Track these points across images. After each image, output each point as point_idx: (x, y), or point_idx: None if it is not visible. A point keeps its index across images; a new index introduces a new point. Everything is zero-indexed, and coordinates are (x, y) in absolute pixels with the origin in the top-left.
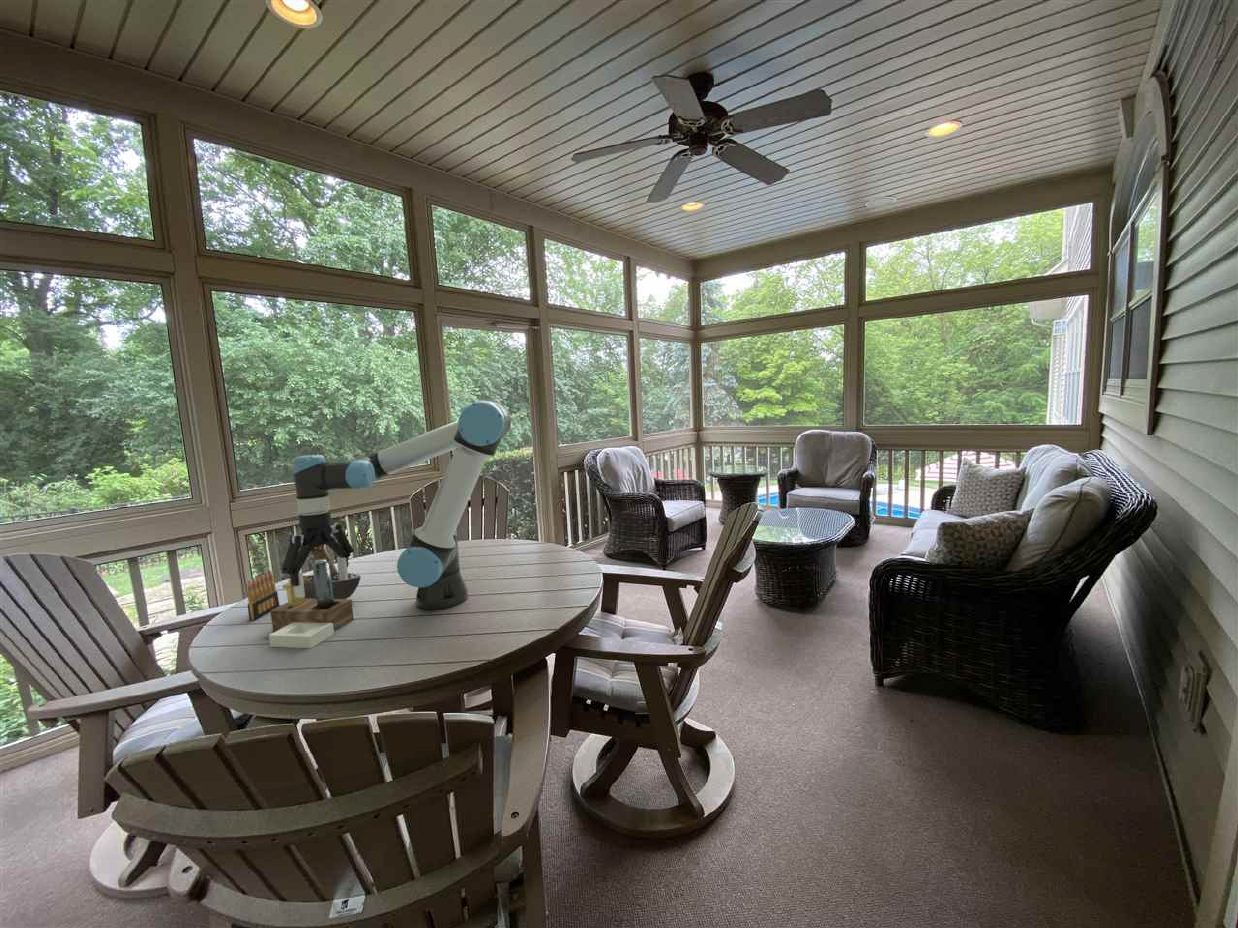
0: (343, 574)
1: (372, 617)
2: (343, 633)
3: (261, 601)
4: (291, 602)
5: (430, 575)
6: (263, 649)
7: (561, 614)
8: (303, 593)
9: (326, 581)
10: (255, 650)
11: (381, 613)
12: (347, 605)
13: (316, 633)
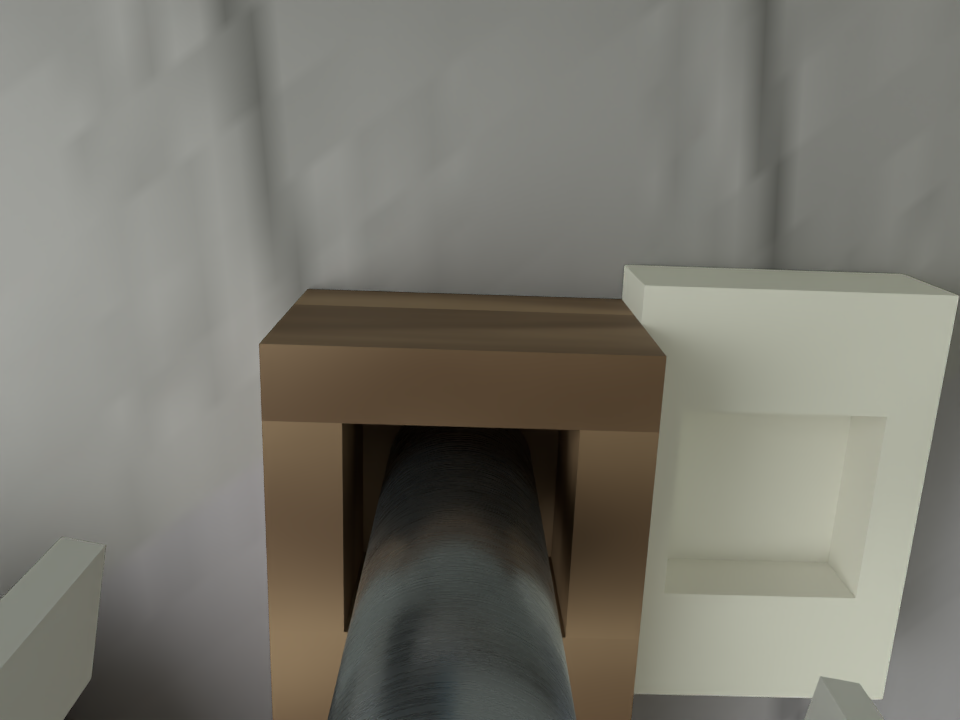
0: (57, 640)
1: (239, 116)
2: (616, 175)
3: None
4: None
5: None
6: None
7: None
8: (860, 715)
9: (510, 647)
10: (899, 696)
11: (131, 78)
12: (345, 334)
13: (870, 291)
